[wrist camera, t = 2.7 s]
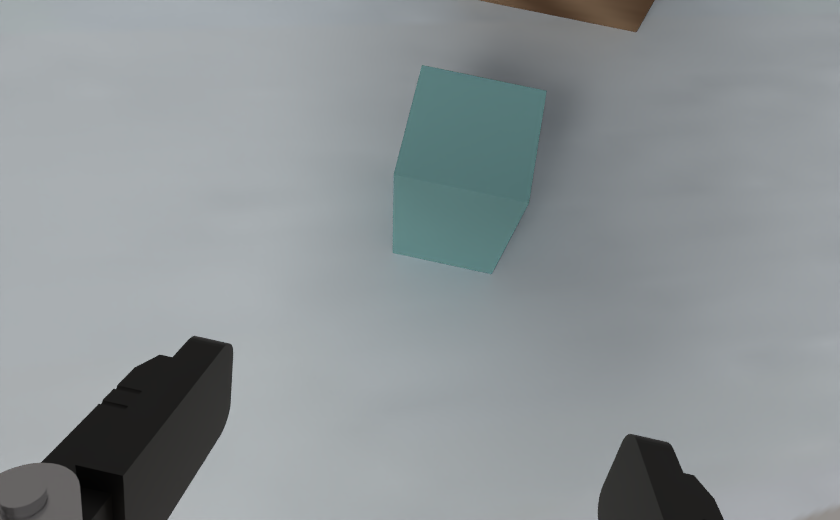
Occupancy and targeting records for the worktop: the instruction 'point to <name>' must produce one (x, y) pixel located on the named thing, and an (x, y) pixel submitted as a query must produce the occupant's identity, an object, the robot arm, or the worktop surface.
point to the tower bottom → (589, 10)
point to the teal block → (464, 168)
